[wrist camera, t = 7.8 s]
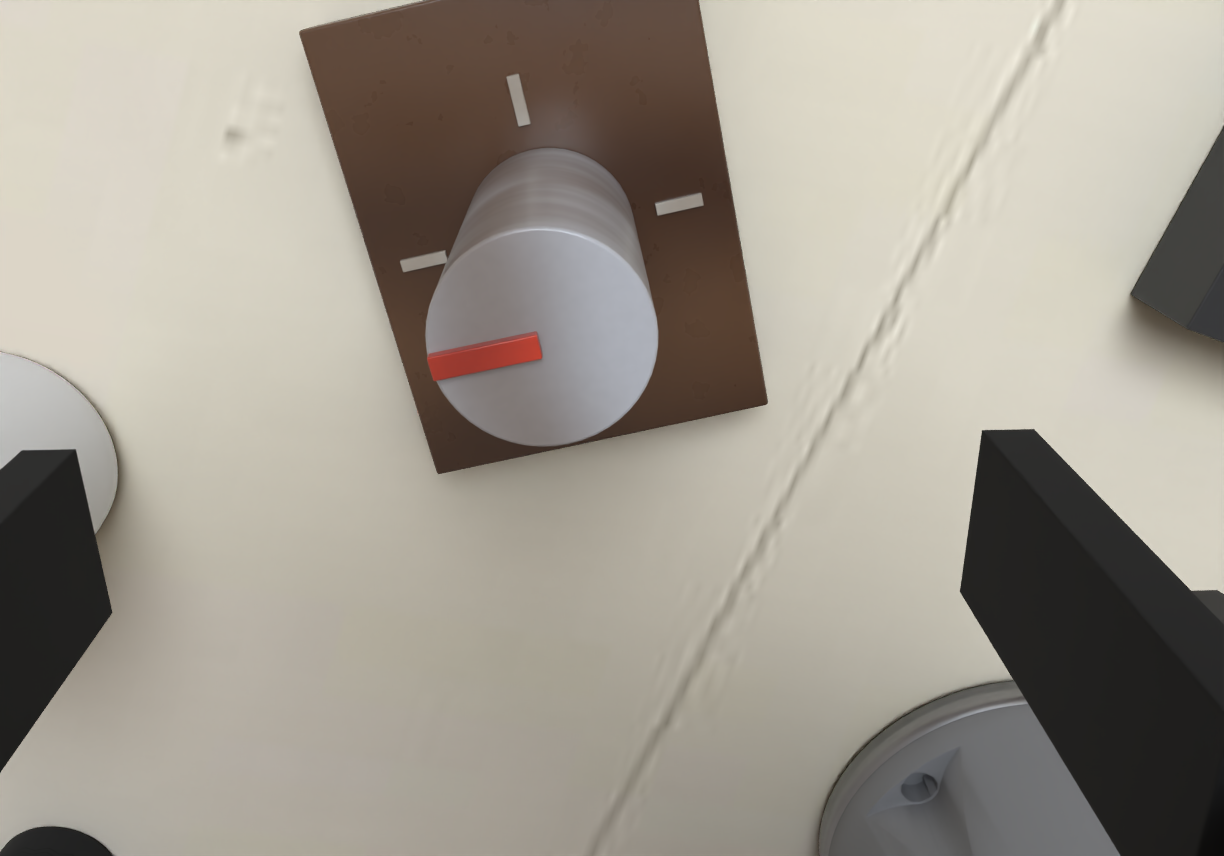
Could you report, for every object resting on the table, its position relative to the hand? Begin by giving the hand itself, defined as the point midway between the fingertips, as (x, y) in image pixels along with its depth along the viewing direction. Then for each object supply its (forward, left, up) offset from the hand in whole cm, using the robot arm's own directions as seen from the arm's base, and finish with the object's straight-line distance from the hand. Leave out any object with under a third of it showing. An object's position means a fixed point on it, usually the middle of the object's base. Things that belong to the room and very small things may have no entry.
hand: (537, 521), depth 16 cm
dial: (0, 0, -18) cm, 18 cm away
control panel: (0, 0, -20) cm, 21 cm away
